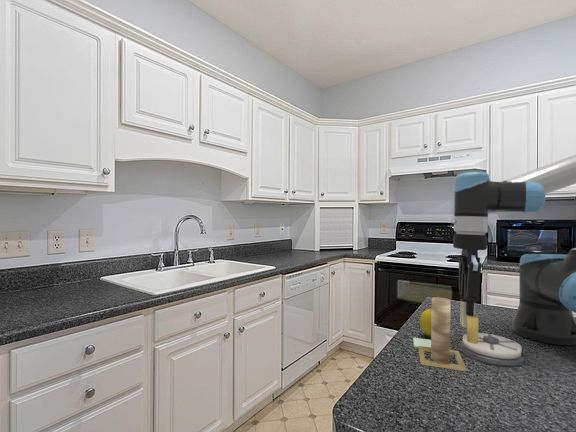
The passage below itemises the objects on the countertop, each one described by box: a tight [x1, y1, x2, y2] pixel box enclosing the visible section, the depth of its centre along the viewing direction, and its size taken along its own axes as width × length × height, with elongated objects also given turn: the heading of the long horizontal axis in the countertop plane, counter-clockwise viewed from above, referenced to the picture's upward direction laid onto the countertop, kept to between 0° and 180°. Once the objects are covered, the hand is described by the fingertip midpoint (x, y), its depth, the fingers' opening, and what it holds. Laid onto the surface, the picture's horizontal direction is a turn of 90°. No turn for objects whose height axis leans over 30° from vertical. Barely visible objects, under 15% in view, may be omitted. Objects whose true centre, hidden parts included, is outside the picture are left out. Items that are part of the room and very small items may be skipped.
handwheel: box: [462, 315, 523, 359], centre depth 77 cm, size 12×12×8 cm
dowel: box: [430, 296, 452, 363], centre depth 74 cm, size 4×4×14 cm
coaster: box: [412, 337, 431, 349], centre depth 82 cm, size 6×6×1 cm
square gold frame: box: [417, 346, 467, 372], centre depth 74 cm, size 9×9×1 cm
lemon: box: [419, 307, 432, 338], centre depth 88 cm, size 6×6×8 cm
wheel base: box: [460, 340, 525, 368], centre depth 77 cm, size 13×13×1 cm
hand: (467, 326), depth 80 cm, fingers open, 1 cm apart
